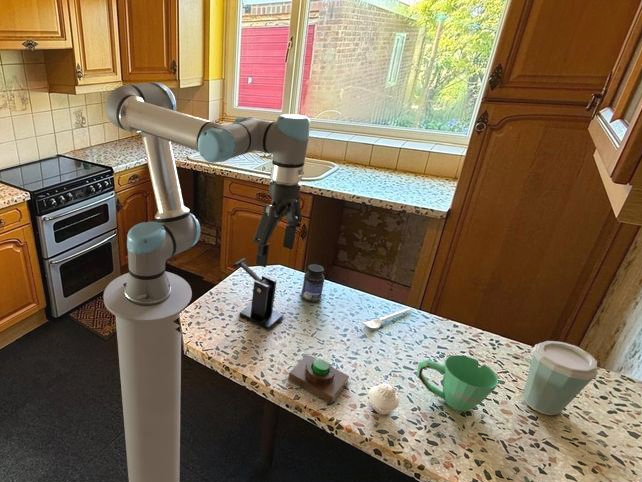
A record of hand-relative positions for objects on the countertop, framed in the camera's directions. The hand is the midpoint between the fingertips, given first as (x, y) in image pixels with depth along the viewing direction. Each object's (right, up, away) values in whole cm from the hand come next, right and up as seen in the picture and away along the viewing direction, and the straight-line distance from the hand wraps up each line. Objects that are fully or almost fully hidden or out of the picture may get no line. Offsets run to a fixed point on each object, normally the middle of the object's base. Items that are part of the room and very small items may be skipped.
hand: (274, 256), depth 107 cm
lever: (-4, -7, +10) cm, 13 cm away
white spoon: (+36, -20, +12) cm, 43 cm away
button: (+8, -27, -12) cm, 30 cm away
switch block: (+8, -30, -10) cm, 33 cm away
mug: (+36, -33, -15) cm, 51 cm away
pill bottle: (+17, -14, +22) cm, 31 cm away
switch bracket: (-1, -19, +13) cm, 23 cm away
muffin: (+20, -34, -17) cm, 43 cm away
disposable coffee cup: (+57, -33, -16) cm, 68 cm away
